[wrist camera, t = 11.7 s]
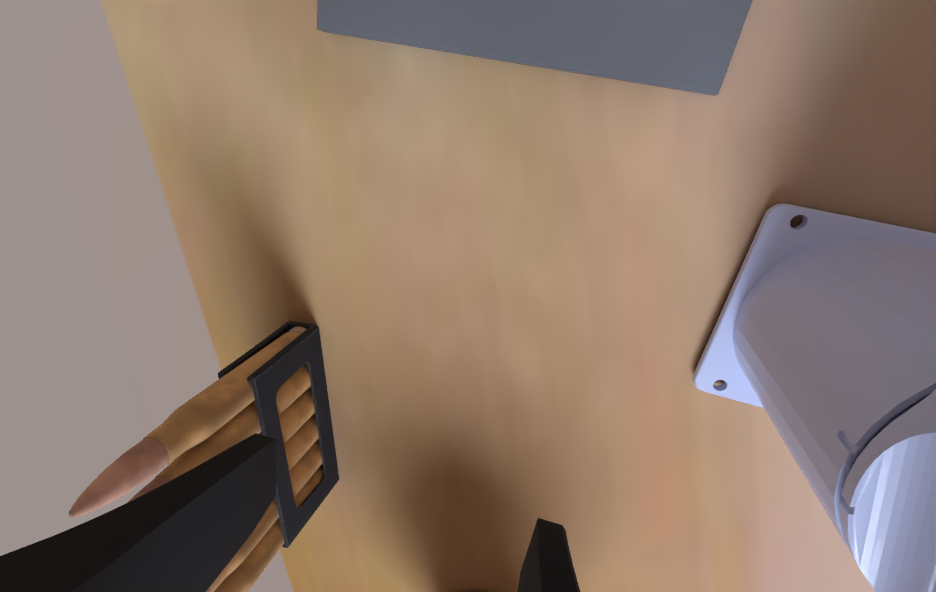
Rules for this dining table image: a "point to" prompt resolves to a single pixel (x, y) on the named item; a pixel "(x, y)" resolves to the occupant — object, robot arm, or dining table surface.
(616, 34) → the grey square tray
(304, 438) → the ammunition clip
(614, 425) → the dining table surface
